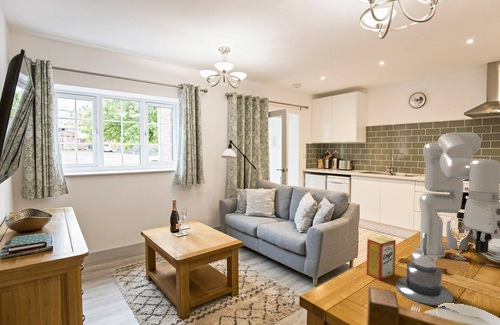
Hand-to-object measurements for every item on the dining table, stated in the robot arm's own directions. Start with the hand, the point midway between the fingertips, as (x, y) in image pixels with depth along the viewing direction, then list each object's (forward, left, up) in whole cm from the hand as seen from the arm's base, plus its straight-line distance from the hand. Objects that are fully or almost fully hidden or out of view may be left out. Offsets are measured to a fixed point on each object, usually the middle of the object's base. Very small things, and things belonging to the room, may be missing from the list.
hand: (481, 251), depth 87 cm
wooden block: (+6, -10, -11) cm, 16 cm away
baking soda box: (+17, -28, -21) cm, 39 cm away
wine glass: (-44, -54, -21) cm, 73 cm away
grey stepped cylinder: (+10, -13, -21) cm, 26 cm away
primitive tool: (-6, -34, -21) cm, 41 cm away
